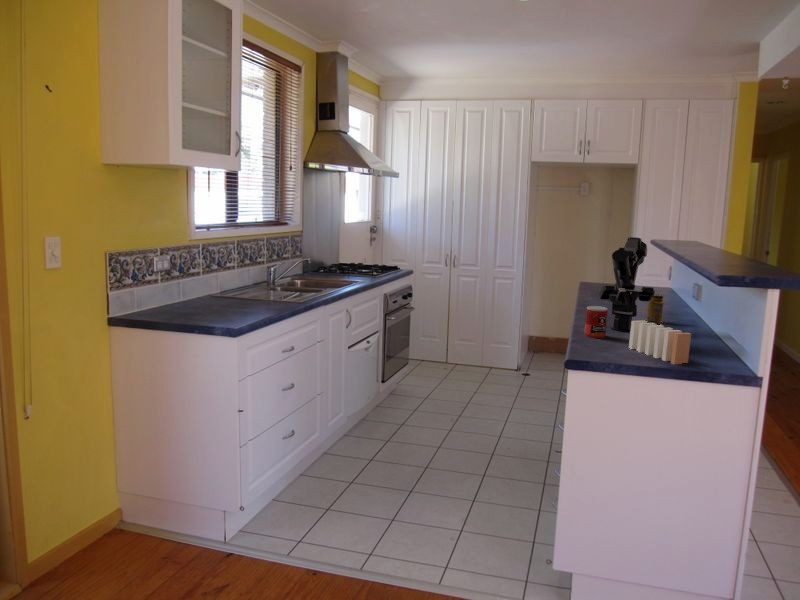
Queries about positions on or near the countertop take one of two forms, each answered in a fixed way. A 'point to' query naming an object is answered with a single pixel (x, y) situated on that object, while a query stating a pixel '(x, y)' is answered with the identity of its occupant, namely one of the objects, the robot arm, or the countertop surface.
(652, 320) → the condiment
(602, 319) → the canned food
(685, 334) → the domino
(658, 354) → the domino
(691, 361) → the countertop surface
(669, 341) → the domino
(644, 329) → the domino
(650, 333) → the domino
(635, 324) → the domino
